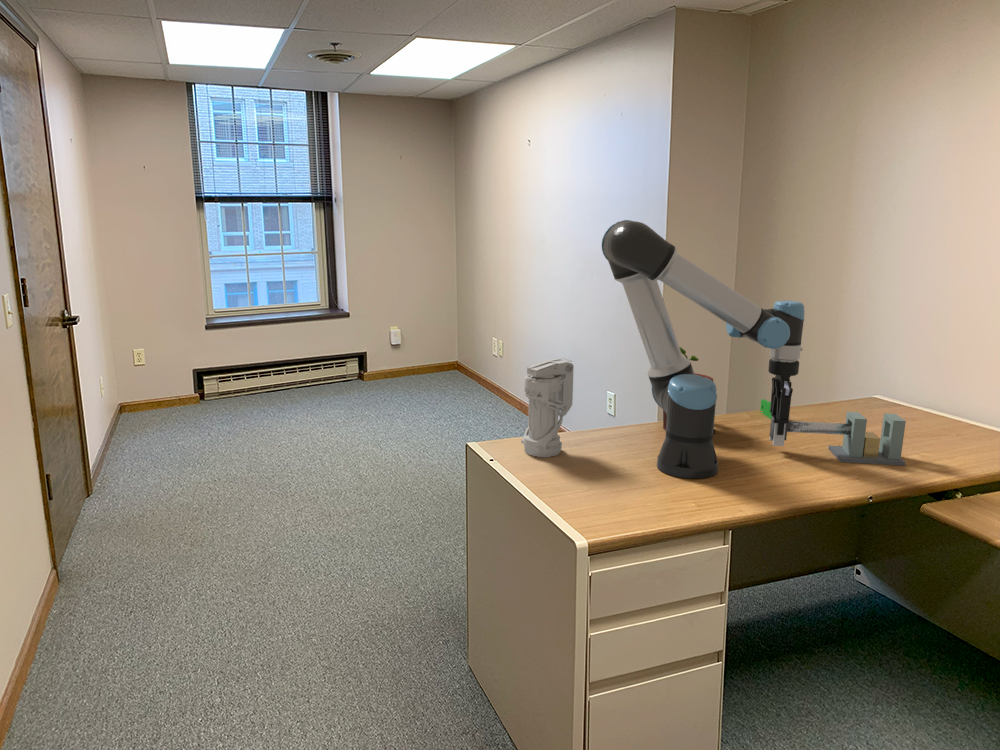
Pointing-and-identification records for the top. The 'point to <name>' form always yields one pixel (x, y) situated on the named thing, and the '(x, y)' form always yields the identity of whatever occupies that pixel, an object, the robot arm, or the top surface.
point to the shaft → (813, 427)
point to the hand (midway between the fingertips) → (776, 442)
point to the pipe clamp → (765, 408)
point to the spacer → (871, 445)
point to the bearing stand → (855, 442)
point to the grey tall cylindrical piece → (547, 405)
